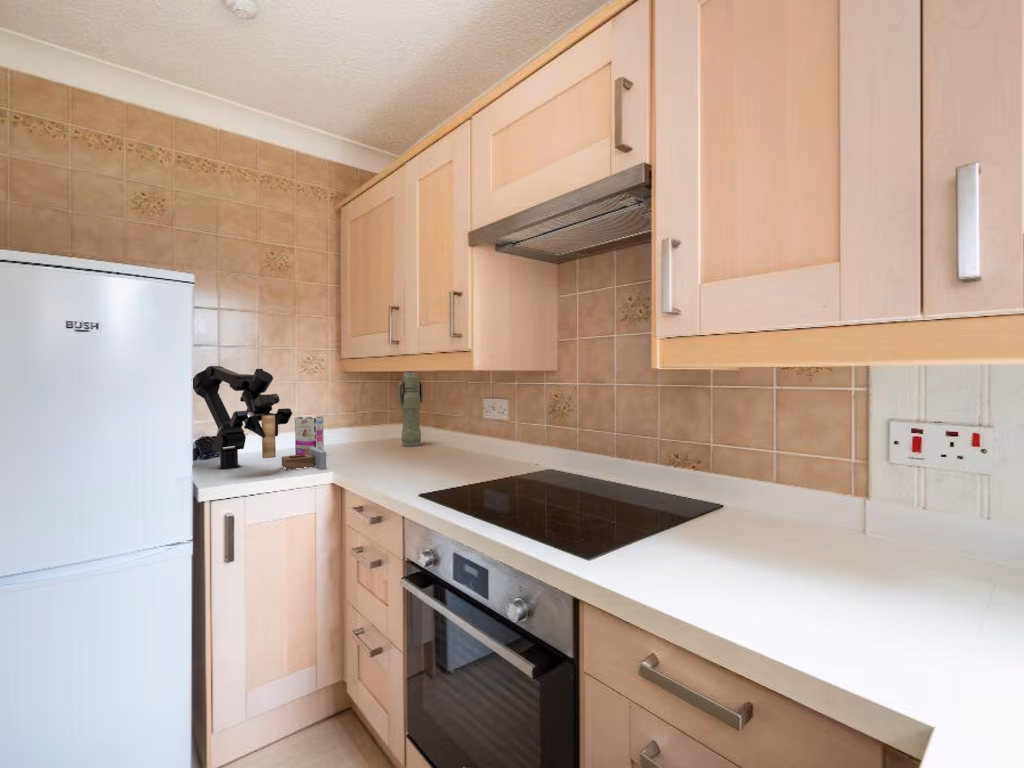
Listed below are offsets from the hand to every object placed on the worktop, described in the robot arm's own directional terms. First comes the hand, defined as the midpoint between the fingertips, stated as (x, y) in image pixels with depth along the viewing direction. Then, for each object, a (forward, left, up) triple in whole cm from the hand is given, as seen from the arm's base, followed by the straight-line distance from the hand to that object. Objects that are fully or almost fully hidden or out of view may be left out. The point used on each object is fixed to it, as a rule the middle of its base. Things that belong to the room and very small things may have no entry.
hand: (270, 436), depth 162 cm
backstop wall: (-7, +17, -13) cm, 22 cm away
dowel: (-1, 0, -7) cm, 7 cm away
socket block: (-10, +11, -13) cm, 20 cm away
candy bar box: (-34, +21, -13) cm, 42 cm away
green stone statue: (-35, +67, -13) cm, 77 cm away
